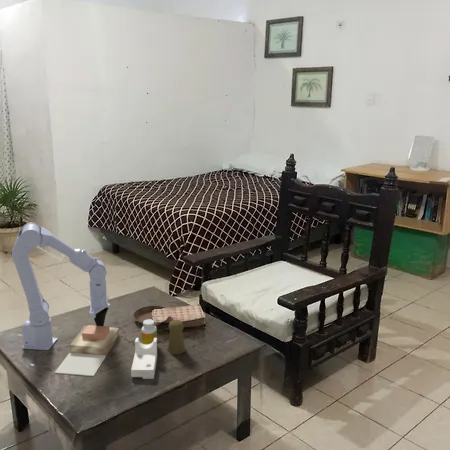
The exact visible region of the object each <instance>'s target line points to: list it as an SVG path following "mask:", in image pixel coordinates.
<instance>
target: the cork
mask: <svg viewBox="0 0 450 450" xmlns="http://www.w3.org/2000/svg"><path fill="white" fill-rule="evenodd" d="M184 325H185V324H184V323H183V321H182V320H180V319H173V320H171V321H170V322H169V324H168V329H169V331H170V332H169V339H168V347H167V353H170V354H171V355H180V354H183V353H184V352H185V350H186V347H185V340H184V333H183V330H184V327H185V326H184Z"/></svg>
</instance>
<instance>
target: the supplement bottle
mask: <svg viewBox="0 0 450 450" xmlns="http://www.w3.org/2000/svg"><path fill="white" fill-rule="evenodd" d="M154 325H155V323H154V320H152V319H147V320H144V321H143V325H142V327H141V329H140V330H141V332H140V333H141V343H142V344H145V345H148V344H151V343H152V342H153V341H154V338H157V339H158V335H157V334H158V333H157V332H158V331H157V330H158V329H157V328H158V327H157V326H154Z"/></svg>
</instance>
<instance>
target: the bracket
mask: <svg viewBox="0 0 450 450" xmlns="http://www.w3.org/2000/svg"><path fill="white" fill-rule="evenodd" d="M134 351H135V352H134V356H133V360H132V365H131V369H130V376H131V378H142V380H143V379H144V380H147V379H150V380H151V379H152V380H153V379H155V373H156V367H157V363H158V362H157V360H158V337H157V338H154V341H153V342H152V343H151V344H148V345H145V344H142V341H140V338H139V337H135V340H134Z"/></svg>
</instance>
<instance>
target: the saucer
mask: <svg viewBox="0 0 450 450" xmlns="http://www.w3.org/2000/svg"><path fill="white" fill-rule="evenodd" d="M162 308H166V307H165V306H161V305H148V306H143V307H140V308H137V309H136V310H135V311H134V312H133V314H132V315H133V316H132V317H133V319H134V320H135V321H136V322H137V323H139V325H142V326H143V321H144V320H147V319H151V312H152V310H154V309H162Z"/></svg>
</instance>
